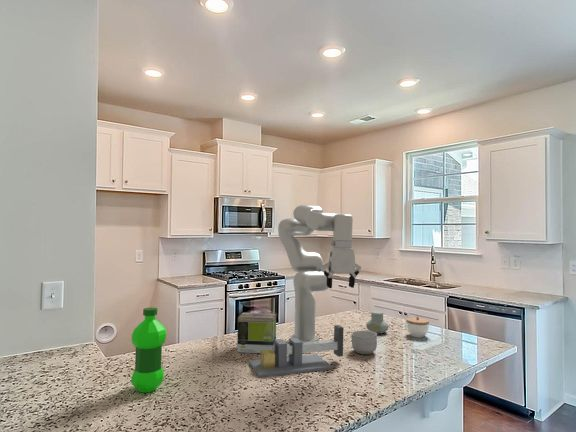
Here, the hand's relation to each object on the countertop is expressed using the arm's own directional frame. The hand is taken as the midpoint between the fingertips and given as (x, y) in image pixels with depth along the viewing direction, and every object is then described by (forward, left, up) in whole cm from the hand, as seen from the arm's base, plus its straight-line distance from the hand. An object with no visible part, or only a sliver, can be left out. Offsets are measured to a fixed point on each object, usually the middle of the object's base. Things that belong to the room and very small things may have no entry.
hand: (340, 287), depth 153 cm
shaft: (+2, -13, -26) cm, 29 cm away
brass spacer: (+2, -29, -25) cm, 38 cm away
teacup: (-6, +15, -29) cm, 33 cm away
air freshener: (-31, +37, -29) cm, 56 cm away
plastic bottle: (+8, -72, -29) cm, 78 cm away
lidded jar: (-20, +53, -29) cm, 64 cm away
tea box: (-20, -29, -29) cm, 45 cm away
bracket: (+2, -22, -28) cm, 36 cm away
